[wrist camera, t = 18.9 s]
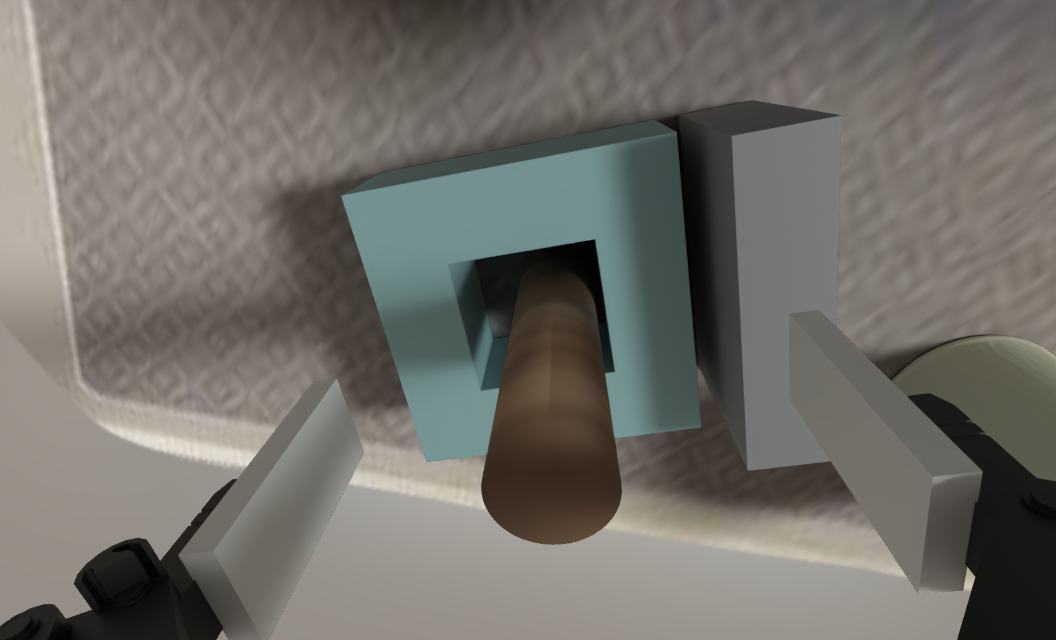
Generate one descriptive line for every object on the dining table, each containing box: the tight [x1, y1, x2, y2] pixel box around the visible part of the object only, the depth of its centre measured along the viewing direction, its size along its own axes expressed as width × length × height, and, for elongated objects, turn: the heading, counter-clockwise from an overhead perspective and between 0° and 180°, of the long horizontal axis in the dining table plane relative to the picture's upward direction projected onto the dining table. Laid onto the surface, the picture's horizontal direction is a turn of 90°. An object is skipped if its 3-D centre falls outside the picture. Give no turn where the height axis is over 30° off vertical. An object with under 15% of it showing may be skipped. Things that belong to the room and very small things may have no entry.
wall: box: [679, 101, 842, 471], centre depth 22 cm, size 12×3×8 cm, turn 11°
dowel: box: [481, 244, 622, 545], centre depth 20 cm, size 3×3×15 cm
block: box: [341, 120, 701, 462], centre depth 24 cm, size 12×12×5 cm
